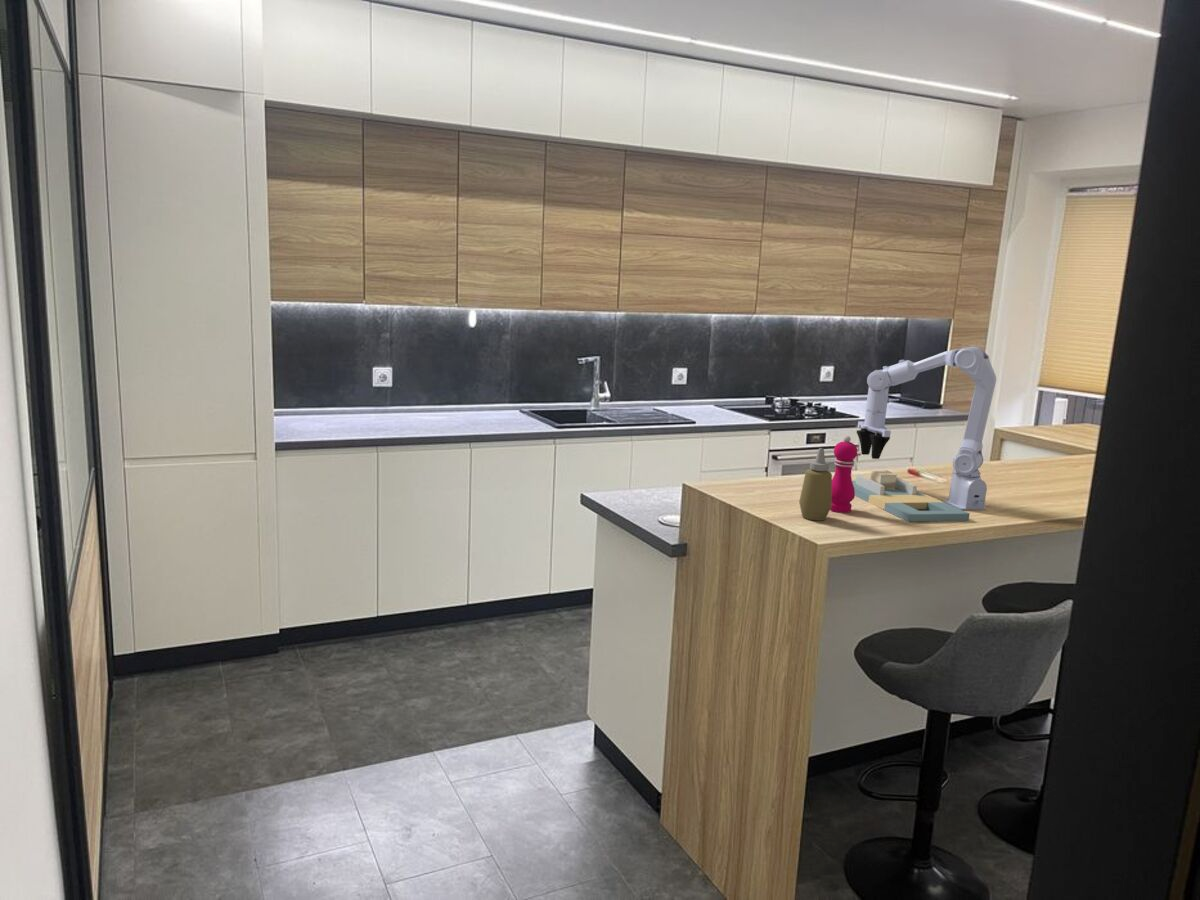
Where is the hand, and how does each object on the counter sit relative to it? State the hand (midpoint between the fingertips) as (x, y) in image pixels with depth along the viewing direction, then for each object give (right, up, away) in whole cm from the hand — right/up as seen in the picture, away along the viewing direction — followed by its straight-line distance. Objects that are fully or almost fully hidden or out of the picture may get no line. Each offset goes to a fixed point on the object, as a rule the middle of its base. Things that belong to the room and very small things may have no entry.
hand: (870, 456), depth 256 cm
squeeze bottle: (-25, -16, -35) cm, 46 cm away
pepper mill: (-16, -14, -25) cm, 33 cm away
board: (+4, -13, -15) cm, 20 cm away
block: (+1, -9, -6) cm, 11 cm away
